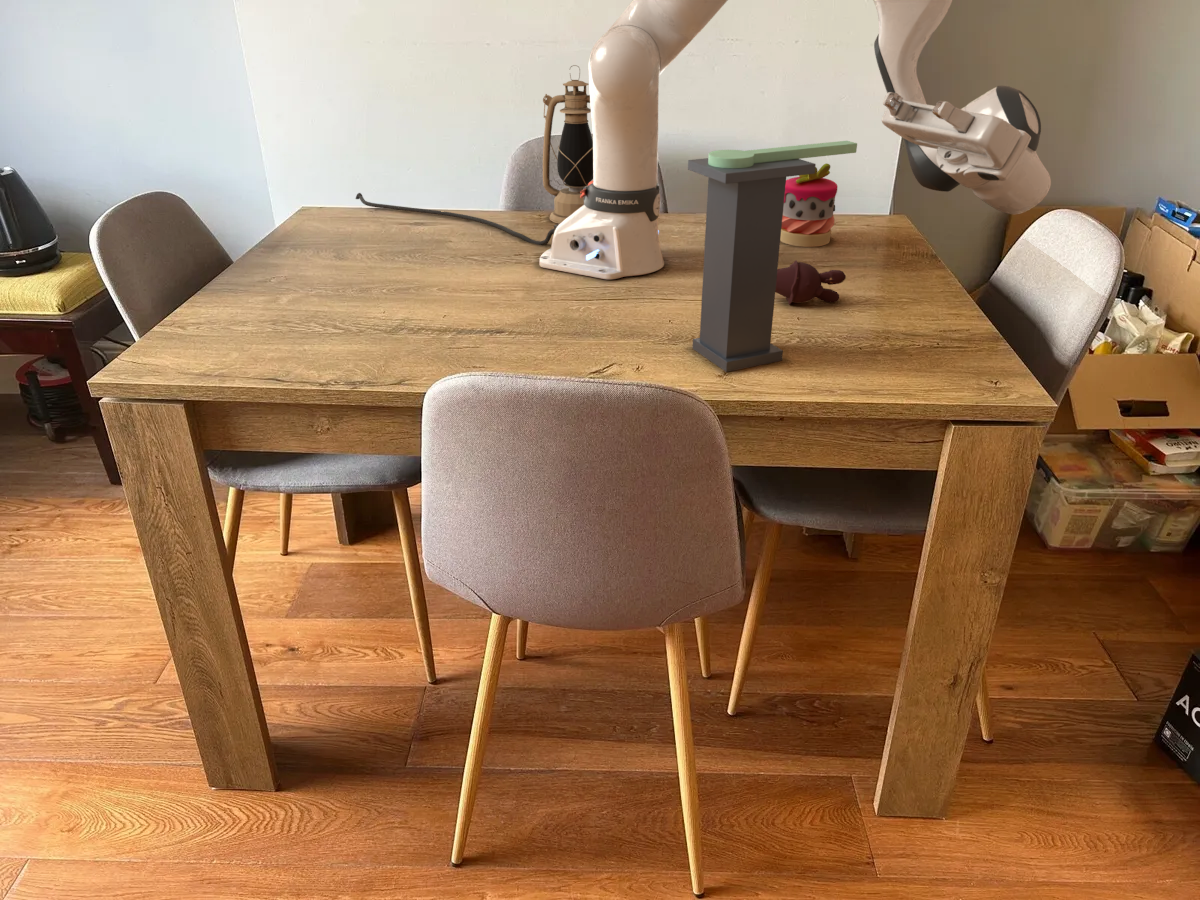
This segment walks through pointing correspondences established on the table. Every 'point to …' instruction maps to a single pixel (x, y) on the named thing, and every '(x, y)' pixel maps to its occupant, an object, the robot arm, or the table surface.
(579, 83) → the lantern
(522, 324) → the table surface
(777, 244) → the stand
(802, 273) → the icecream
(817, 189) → the cake
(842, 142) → the spoon
